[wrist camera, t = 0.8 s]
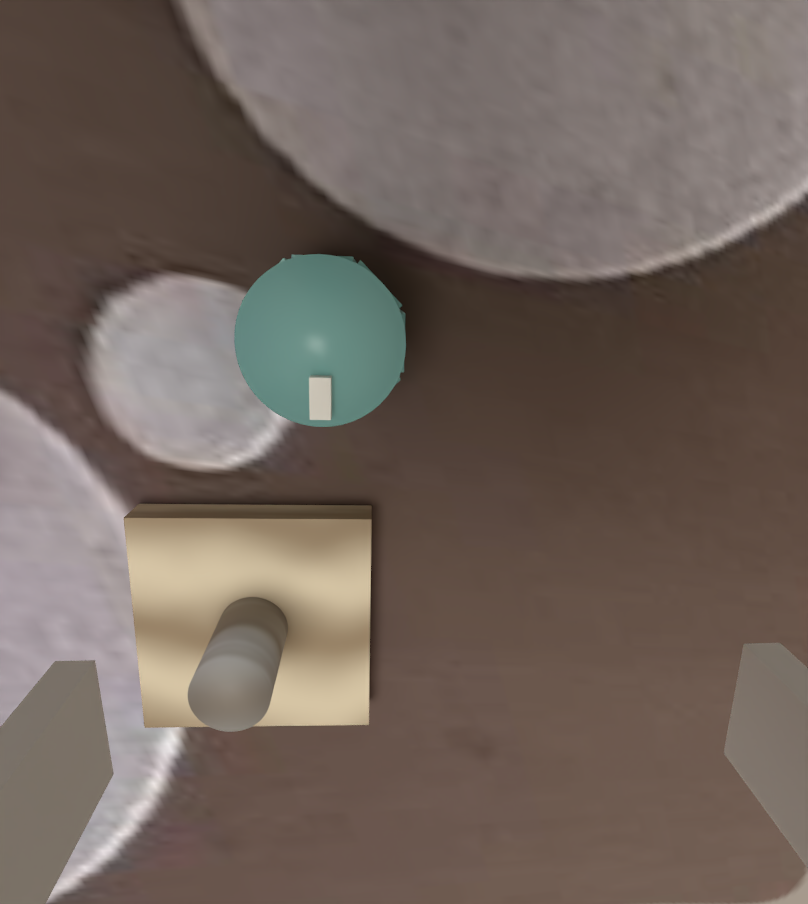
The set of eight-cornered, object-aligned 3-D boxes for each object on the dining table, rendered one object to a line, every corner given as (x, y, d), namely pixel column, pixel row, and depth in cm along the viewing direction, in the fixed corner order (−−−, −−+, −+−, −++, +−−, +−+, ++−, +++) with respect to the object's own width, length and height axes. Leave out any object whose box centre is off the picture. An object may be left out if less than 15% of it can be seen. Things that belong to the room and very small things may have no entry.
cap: (264, 260, 28) (226, 250, 21) (400, 264, 29) (409, 255, 21) (268, 394, 30) (234, 429, 23) (396, 397, 30) (404, 431, 23)
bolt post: (139, 503, 31) (68, 568, 24) (371, 505, 32) (371, 568, 25) (157, 702, 34) (100, 813, 27) (369, 700, 35) (368, 808, 28)
